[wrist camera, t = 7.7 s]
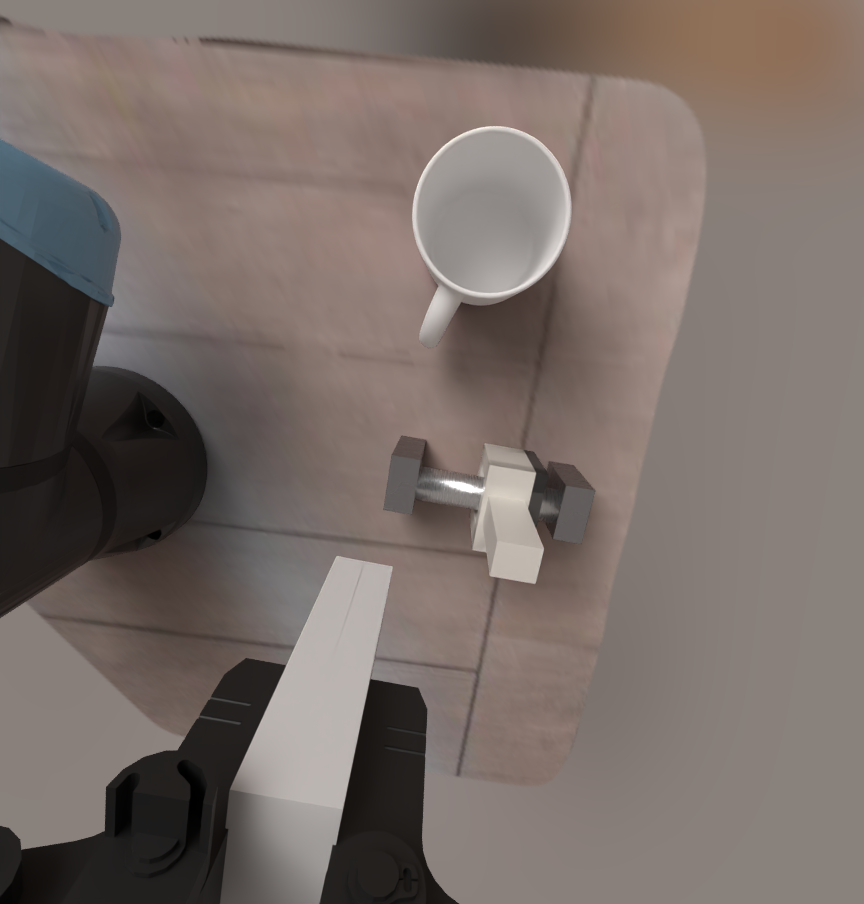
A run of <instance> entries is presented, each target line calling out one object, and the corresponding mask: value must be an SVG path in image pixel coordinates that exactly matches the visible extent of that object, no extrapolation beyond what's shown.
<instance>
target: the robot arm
mask: <svg viewBox="0 0 864 904" xmlns="http://www.w3.org/2000/svg"><path fill="white" fill-rule="evenodd" d="M120 243H121V230H120V225H119V222H118V219H117V217H116V215H115V213H114V212H113V210H112V208H111V207H110V206H109V204H108V203H107V202H106V201H105V200H104V199H103V198H102V197H101V196H100V195H99V194H97V193H96V192H95V191H93V190H92V189H90V188H89V187H87V186H85V185H84V184H82V183H80V182H78V181H76V180H74V179H73V178H71V177H69V176H67V175H65V174H64V173H62V172H60V171H58V170H56V169H54V168H53V167H51V166H49V165H47V164H45V163H43V162H42V161H40V160H38V159H36V158H34V157H33V156H31V155H29V154H27V153H25V152H23V151H22V150H20V149H18V148H16V147H14V146H12V145H11V144H9V143H7V142H5V141H3V140H1V139H0V618H1V617H3V616H4V615H6V614H7V613H9V612H10V611H12V610H14V609H15V608H16V607H18V606H20V605H21V604H23V603H24V602H26V601H28V600H29V599H31V598H32V597H34V596H35V595H37V594H38V593H40V592H42V591H43V590H45V589H46V588H48V587H49V586H51V585H52V584H54V583H55V582H57V581H59V580H60V579H62V578H63V577H65V576H66V575H68V574H69V573H71V572H73V571H74V570H75V569H77V568H78V567H80V566H82V565H83V564H85V563H86V562H88V561H90V560H95V559H100V558H104V557H109V556H114V555H118V554H123V553H128V552H133V551H137V550H140V549H144V548H146V547H149V546H151V545H153V544H155V543H157V542H159V541H161V540H163V539H164V538H166V537H167V536H168V535H170V534H171V533H173V532H174V531H175V530H177V529H178V528H179V527H181V526H182V525H183V524H184V523H185V522H186V521H187V520H188V519H189V518H190V517H191V516H192V514H193V513H194V512H195V510H196V508H197V507H198V505H199V503H200V501H201V498H202V496H203V493H204V489H205V484H206V477H207V462H206V455H205V450H204V446H203V442H202V439H201V437H200V434H199V432H198V430H197V428H196V426H195V424H194V422H193V420H192V419H191V417H190V416H189V414H188V413H187V411H186V410H185V409H184V407H183V406H182V405H181V404H180V403H179V402H178V401H177V400H176V399H175V398H174V397H173V396H172V395H171V394H170V393H169V392H168V391H166V390H165V389H164V388H163V387H161V386H160V385H158V384H157V383H155V382H154V381H152V380H150V379H148V378H146V377H145V376H142V375H140V374H138V373H135V372H132V371H129V370H126V369H121V368H116V367H106V366H96V367H92V366H93V362H94V358H95V354H96V351H97V347H98V343H99V340H100V336H101V333H102V329H103V325H104V322H105V318H106V314H107V311H108V307H109V306H110V307H112V306H113V303H114V296H113V295H112V287H113V281H114V275H115V269H116V263H117V258H118V253H119V248H120ZM392 569H393V567H392V566H387V565H382V564H377V563H371V562H366V561H361V560H356V559H350V558H345V557H340V556H336V558H335V560H334V562H333V565H332V567H331V569H330V571H329V573H328V576H327V578H326V580H325V582H324V584H323V587H322V589H321V591H320V593H319V595H318V597H317V600H316V602H315V604H314V606H313V608H312V611H311V613H310V615H309V617H308V619H307V622H306V624H305V626H304V628H303V630H302V632H301V635H300V637H299V639H298V641H297V643H296V646H295V648H294V650H293V652H292V654H291V657H290V659H289V661H288V663H287V665H281V664H275V663H270V662H264V661H259V660H254V659H248V658H246V659H244V660H243V661H242V662H240V663H239V664H238V665H236V666H235V667H234V668H232V669H231V670H230V671H228V672H227V673H226V674H225V675H224V676H223V678H222V679H221V681H220V683H219V684H218V686H217V687H216V689H215V691H214V692H213V694H212V696H211V699H210V700H208V702H207V704H206V705H205V707H204V708H203V710H202V712H201V713H200V716H199V719H197V720H196V721H195V723H194V725H193V726H192V728H191V729H190V731H189V733H188V734H187V736H186V737H185V740H184V741H183V742H182V744H181V746H180V747H179V749H178V750H177V751H163V752H160V753H156V754H153V755H149V756H146V757H143V758H142V759H140V760H138V761H137V762H135V763H133V764H132V765H130V766H128V767H126V768H125V769H123V770H122V771H121V772H120V773H119V774H118V775H117V777H115V778H114V779H113V780H112V782H110V784H109V785H108V786H107V787H106V810H105V811H106V812H105V813H106V814H105V831H104V832H102V833H100V834H97V835H95V836H92V837H89V838H85V839H81V840H77V841H73V842H67V843H60V844H54V845H48V846H42V847H36V848H30V849H23V850H21V843H20V839H19V838H18V837H17V836H16V835H15V834H14V833H13V832H12V831H11V830H10V829H9V828H6V827H2V826H0V904H459V903H457V902H456V901H455V900H453V899H452V898H451V897H449V896H448V895H447V894H446V893H445V892H444V891H443V889H442V888H441V887H440V886H439V885H438V884H437V882H436V881H435V879H434V878H433V876H432V874H431V872H430V870H429V868H428V866H427V863H426V860H425V857H424V853H423V845H422V823H423V799H424V775H425V751H426V727H427V707H426V705H425V703H424V700H423V698H422V696H421V693H420V691H419V689H418V688H416V687H411V686H405V685H400V684H394V683H389V682H383V681H378V680H372V679H371V675H372V670H373V665H374V661H375V656H376V651H377V646H378V640H379V635H380V630H381V625H382V620H383V615H384V610H385V605H386V600H387V594H388V589H389V584H390V579H391V574H392Z"/></svg>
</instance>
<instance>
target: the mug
mask: <svg viewBox="0 0 864 904" xmlns="http://www.w3.org/2000/svg"><path fill="white" fill-rule="evenodd" d="M412 220H413V230H414V235H415V240H416V243H417V246H418V249H419V251H420V253H421V256H422V258H423V260H424V262H425V264H426V266H427V268H428V271H429V273H430V275H431V276H432V278H433V279H434V281H435V282H436V283H437V285H438V288H437V291H436V293H435V295H434V297H433V299H432V302H431V304H430V306H429V309H428V311H427V314H426V316H425V319H424V322H423V324H422V327H421V331H420V335H419V339H420V342H421V344H422V345H423V346H424V347H426V348H433V347H435V346H437V344H438V343H439V342H440V340H441V338H442V336H443V334H444V332H445V330H446V329H447V327H448V325H449V323H450V321H451V319H452V317H453V316H454V314H455V312H456V310H457V309H458V307H459V305H460V303H461V302H463V303H466V304H471V305H479V306H483V305H492V304H496V303H499V302H502V301H504V300H506V299H508V298H510V297H512V296H514V295H516V294H518V293H520V292H522V291H523V290H525V289H527V288H529V287H530V286H532V285H533V284H535V283H536V282H537V281H539V280H540V279H541V278H542V277H543V276H544V275H545V274H546V273H547V272H548V271H549V270H550V269H551V267H552V266H553V265H554V263H555V262H556V260H557V259H558V257H559V255H560V253H561V251H562V250H563V248H564V245H565V242H566V240H567V237H568V233H569V229H570V223H571V196H570V190H569V186H568V182H567V179H566V177H565V174H564V172H563V170H562V168H561V166H560V164H559V162H558V161H557V159H556V158H555V157H554V155H553V154H552V153H551V152H550V151H549V150H548V149H547V148H546V147H545V146H544V145H543V144H542V143H541V142H540V141H538V140H537V139H536V138H534V137H532V136H530V135H529V134H527V133H525V132H522V131H519V130H517V129H513V128H508V127H500V126H490V127H482V128H478V129H473V130H470V131H468V132H465V133H463V134H461V135H459V136H457V137H456V138H454V139H452V140H451V141H450V142H448V143H447V144H446V145H444V146H443V147H442V148H441V149H440V150H439V151H438V152H437V153H436V154H435V155H434V157H433V158H432V159H431V161H430V162H429V163H428V165H427V167H426V168H425V170H424V172H423V173H422V176H421V178H420V180H419V183H418V185H417V189H416V192H415V196H414V202H413V213H412Z"/></svg>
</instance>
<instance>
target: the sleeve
mask: <svg viewBox="0 0 864 904" xmlns="http://www.w3.org/2000/svg"><path fill="white" fill-rule="evenodd" d="M478 476H481V477H485V479H484V484H483V489H482V493H481V498H480V503H479V508H478V510H473V509H471V512H470V527H471V540H472V550H475V551H481V552H487V560H488V567H489V574H490V576H492V577H498V578H504V579H510V580H515V581H521V582H527V583H533V584H536V580H537V576H538V572H539V568H540V564H541V560H542V556H543V551H544V548H543V545H542V543H541V540H540V538H539V535H538V533H537V530H536V526H537V522H538V518H539V513H540V509H541V505H542V501H543V497H544V493H545V488H546V484H547V480H548V476H549V475H548V473H547V472H546V470H545V468H544V467H543V465H542V464H541V462H540V461H539V459H538V457H537V456H536V454H535V453H534V452H533V451H527V450H521V449H515V448H510V447H504V446H498V445H492V444H487V443H484V447H483V452H482V457H481V462H480V467H479V472H478Z"/></svg>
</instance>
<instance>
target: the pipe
mask: <svg viewBox="0 0 864 904" xmlns="http://www.w3.org/2000/svg"><path fill="white" fill-rule="evenodd" d="M425 443H426V440H424V439H418V438H412V437H406V436H401V437H400V439H399V441H398V443H397V446H396V448H395V450H394V452H393V454H392V456H391V463H390V469H389V476H388V483H387V489H386V496H385V503H384V509H383V510H387V511H393V512H398V513H404V514H410V515H412V511H413V507H414V502H415V499H416V500H421V501H427V502H433V503H439V504H444V505H450V506H456V507H462V508H468V509H473V510H478V508H479V503H480V498H481V493H482V489H483V484H484V479H485V477H481V476H475V475H469V474H464V473H458V472H452V471H446V470H440V469H435V468H429V467H423V466H422V461H423V455H424V449H425ZM547 473H548V475H549V476H548V480H547V484H546V488H545V493H544V497H543V501H542V505H541V509H540V513H539V518H538V521H542V522H545V523H546V526H547V528H548V530H549V532H550V534H551V536H552V539H554V540H560V541H566V542H571V543H577V544H581V543H582V539H583V535H584V531H585V528H586V524H587V520H588V517H589V513H590V509H591V505H592V502H593V498H594V494H595V490H594V488H593V487H592V486H591V485H590V484H589V483H588V481H587V480H586V479H585V478H584V477H583V476H582V474H581V473H580V472H579V471H578V470H577V469H576V467H575V466H574V465H568V464H562V463H557V462H551V461H549V464H548V468H547Z"/></svg>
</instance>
